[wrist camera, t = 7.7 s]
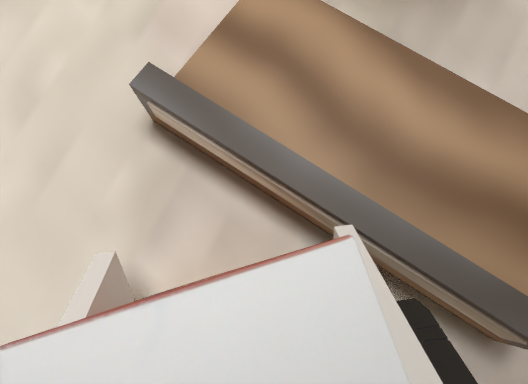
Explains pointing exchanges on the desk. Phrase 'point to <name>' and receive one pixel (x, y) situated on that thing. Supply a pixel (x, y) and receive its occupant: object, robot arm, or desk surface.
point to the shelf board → (365, 148)
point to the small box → (229, 331)
